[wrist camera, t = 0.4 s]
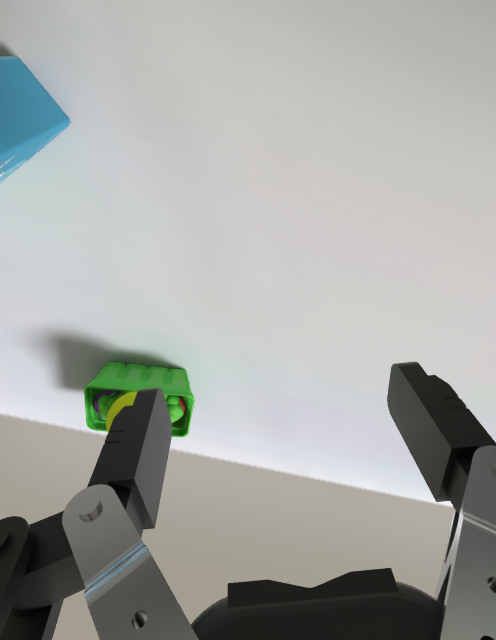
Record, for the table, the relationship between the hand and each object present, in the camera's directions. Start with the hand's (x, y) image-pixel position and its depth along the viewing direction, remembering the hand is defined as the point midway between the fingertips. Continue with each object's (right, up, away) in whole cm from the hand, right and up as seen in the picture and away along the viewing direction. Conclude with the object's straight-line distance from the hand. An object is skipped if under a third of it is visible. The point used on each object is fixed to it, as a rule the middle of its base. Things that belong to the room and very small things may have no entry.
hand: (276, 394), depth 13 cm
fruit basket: (-13, -4, +30) cm, 33 cm away
